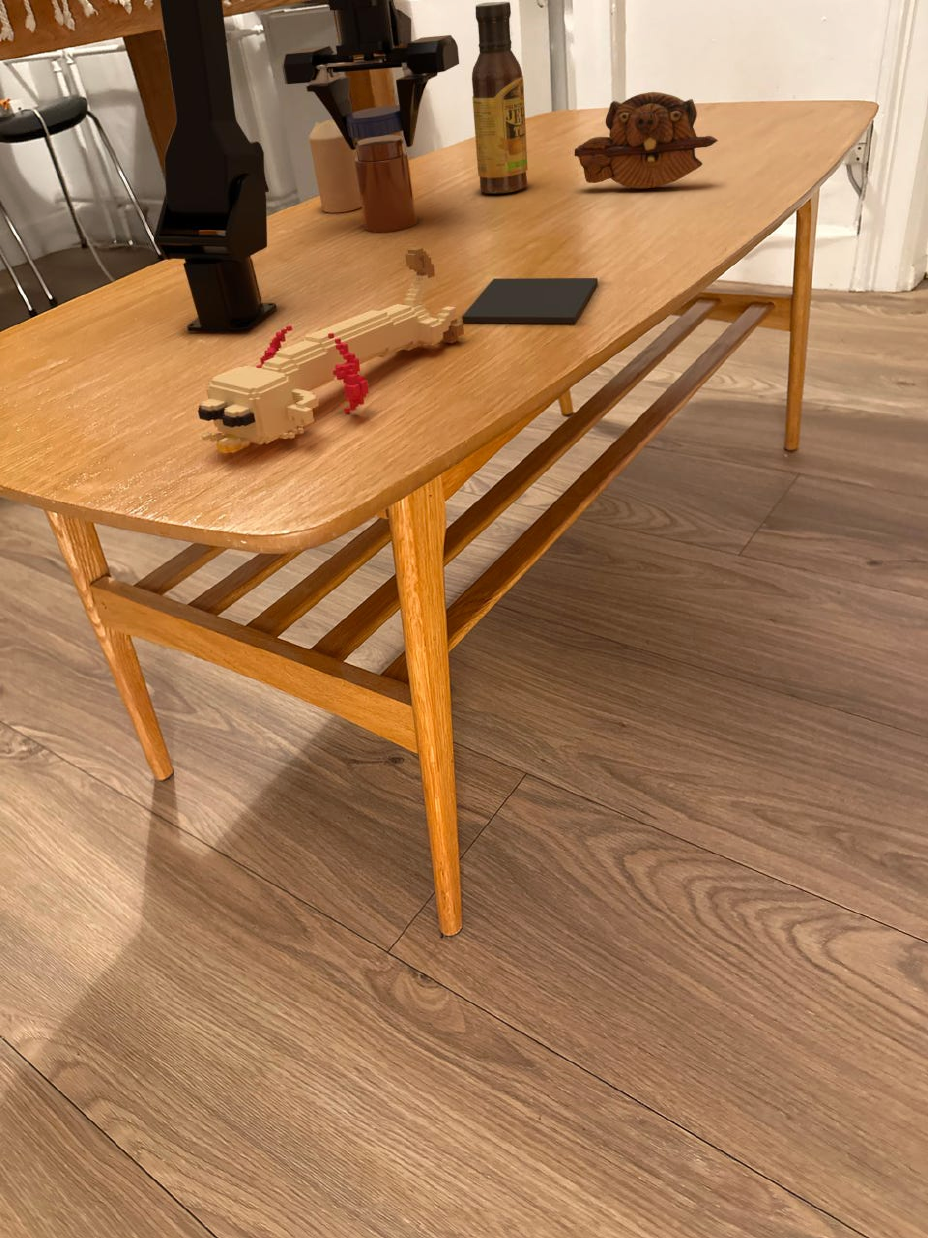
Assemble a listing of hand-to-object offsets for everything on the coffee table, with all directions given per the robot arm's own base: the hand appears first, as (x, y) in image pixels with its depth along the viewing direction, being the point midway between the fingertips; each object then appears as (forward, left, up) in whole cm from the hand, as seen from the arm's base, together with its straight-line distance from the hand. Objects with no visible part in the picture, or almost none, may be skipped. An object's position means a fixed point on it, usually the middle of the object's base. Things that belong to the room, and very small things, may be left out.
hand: (382, 147), depth 104 cm
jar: (-1, 0, -8) cm, 8 cm away
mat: (-27, -24, -8) cm, 37 cm away
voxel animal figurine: (-47, -14, -8) cm, 50 cm away
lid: (0, 0, +3) cm, 3 cm away
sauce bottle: (+14, -10, -8) cm, 19 cm away
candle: (+8, +10, -8) cm, 15 cm away
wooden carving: (+12, -28, -8) cm, 32 cm away
